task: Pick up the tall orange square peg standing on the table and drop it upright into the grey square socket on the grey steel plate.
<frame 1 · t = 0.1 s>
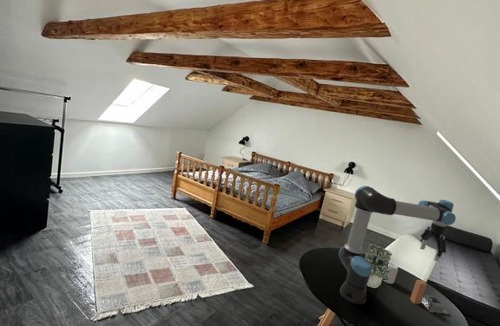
hand: (428, 254, 180), 28 cm above the table, fingers open, 13 cm apart
beverage can: (387, 281, 193), on the table
orange square peg: (414, 301, 175), on the table
grey square socket: (432, 305, 174), on the table
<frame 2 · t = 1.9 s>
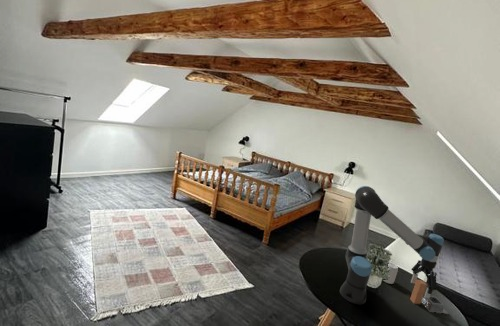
hand: (419, 290, 173), 8 cm above the table, fingers open, 13 cm apart
nothing on the table moved.
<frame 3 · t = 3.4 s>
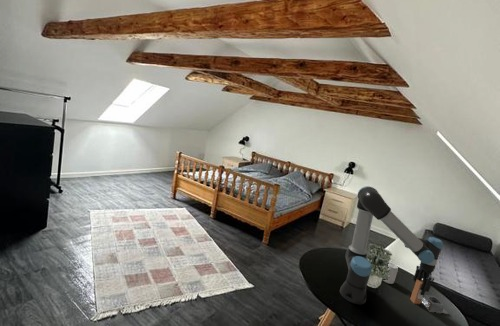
hand: (416, 295, 174), 4 cm above the table, fingers closed on orange square peg, 4 cm apart
orange square peg: (414, 301, 175), on the table, touching gripper
everything else where it was.
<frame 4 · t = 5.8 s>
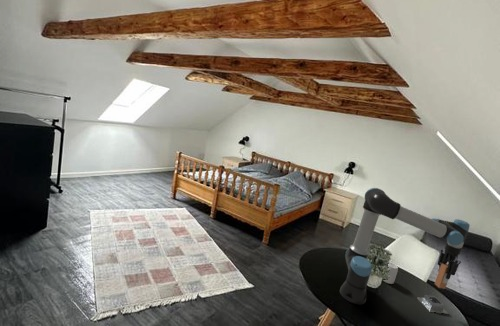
hand: (441, 280, 170), 18 cm above the table, fingers closed on orange square peg, 4 cm apart
orange square peg: (439, 286, 171), point 14 cm above the table, touching gripper
everything else where it was.
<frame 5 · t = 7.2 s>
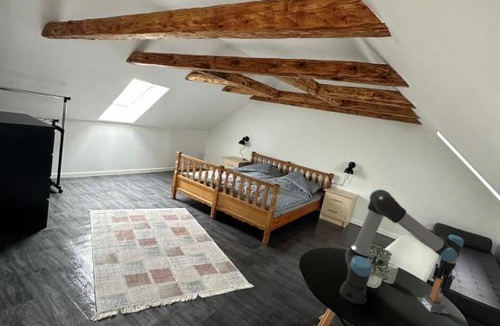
hand: (436, 294, 172), 8 cm above the table, fingers closed on orange square peg, 4 cm apart
orange square peg: (434, 300, 173), point 4 cm above the table, touching gripper
everything else where it was.
when the fingers open (7 cm above the table, at t = 8.1 s): orange square peg drops 2 cm, resting on grey square socket.
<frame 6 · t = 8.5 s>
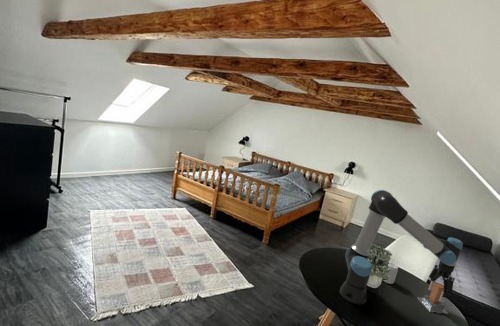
hand: (435, 295, 172), 8 cm above the table, fingers open, 9 cm apart
orange square peg: (432, 304, 173), point 1 cm above the table, touching grey square socket
everything else where it was.
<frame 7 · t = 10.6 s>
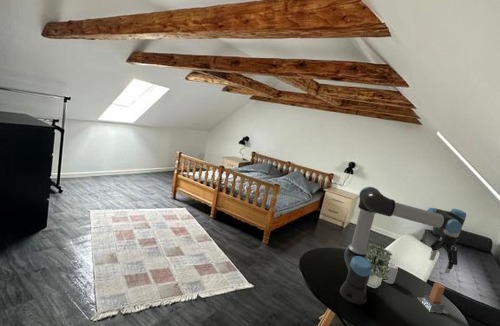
hand: (438, 266, 171), 26 cm above the table, fingers open, 13 cm apart
nothing on the table moved.
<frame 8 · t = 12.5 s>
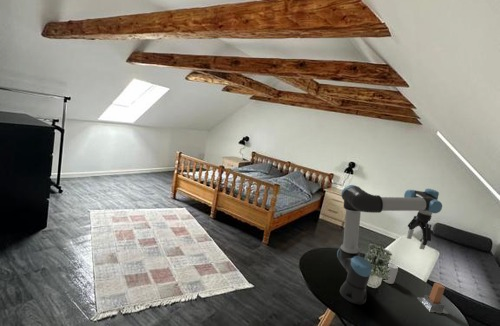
hand: (414, 243, 181), 33 cm above the table, fingers open, 13 cm apart
nothing on the table moved.
at the end: orange square peg 0.0 cm off-centre on the grey square socket, point 0.8 cm above the grey square socket's base; orange square peg tilted 0°; the gripper is holding nothing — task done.
